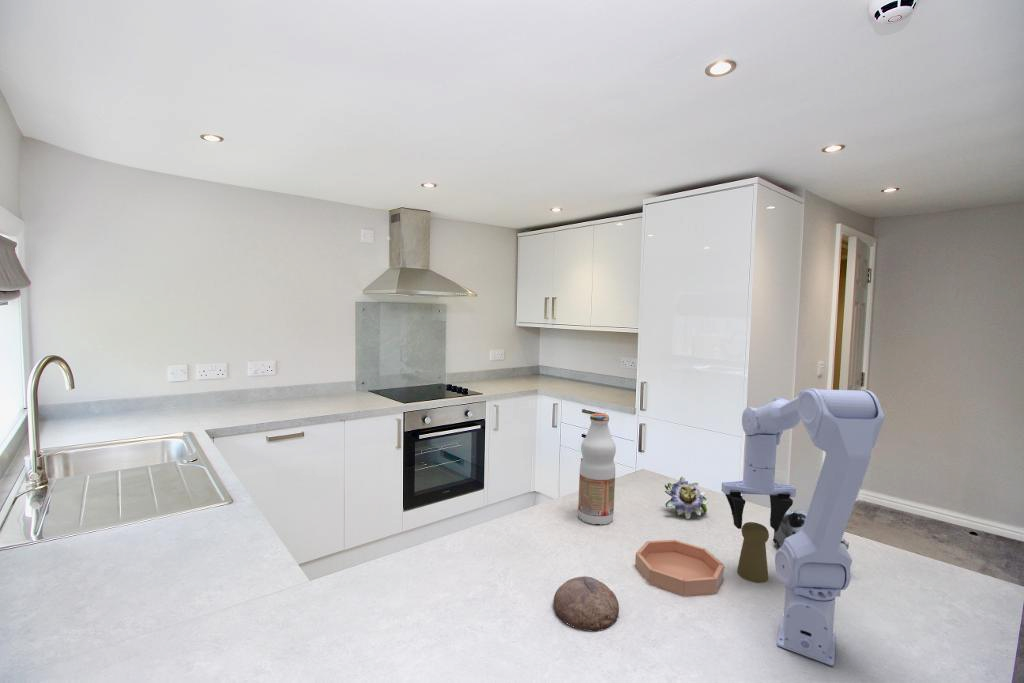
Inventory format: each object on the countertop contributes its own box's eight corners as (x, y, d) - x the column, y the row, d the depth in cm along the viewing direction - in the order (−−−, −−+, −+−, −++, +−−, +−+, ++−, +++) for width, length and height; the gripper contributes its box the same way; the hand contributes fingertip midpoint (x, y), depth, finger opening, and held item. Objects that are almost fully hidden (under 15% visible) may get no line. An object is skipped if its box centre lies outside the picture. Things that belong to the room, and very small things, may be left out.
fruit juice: (585, 526, 123) (589, 419, 122) (572, 511, 132) (576, 411, 131) (619, 524, 125) (623, 418, 124) (604, 509, 135) (608, 411, 133)
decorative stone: (581, 641, 80) (582, 610, 80) (540, 603, 91) (541, 575, 90) (632, 619, 87) (633, 590, 86) (588, 586, 97) (589, 559, 96)
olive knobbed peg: (772, 584, 99) (775, 532, 98) (741, 580, 100) (744, 529, 99) (763, 569, 105) (766, 520, 104) (733, 565, 106) (736, 517, 105)
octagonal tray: (710, 605, 91) (710, 590, 91) (626, 575, 101) (627, 561, 100) (728, 568, 105) (728, 555, 104) (653, 545, 114) (653, 533, 114)
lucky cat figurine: (850, 557, 111) (866, 517, 104) (826, 590, 106) (841, 551, 98) (785, 517, 122) (795, 479, 115) (760, 546, 116) (769, 507, 109)
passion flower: (686, 538, 131) (666, 506, 127) (669, 514, 141) (650, 484, 138) (721, 516, 130) (703, 484, 127) (701, 494, 141) (684, 464, 137)
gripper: (784, 460, 105) (780, 520, 105) (717, 457, 105) (714, 517, 106) (803, 470, 97) (798, 535, 98) (730, 467, 98) (727, 532, 99)
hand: (755, 527), depth 102 cm, fingers open, 7 cm apart
